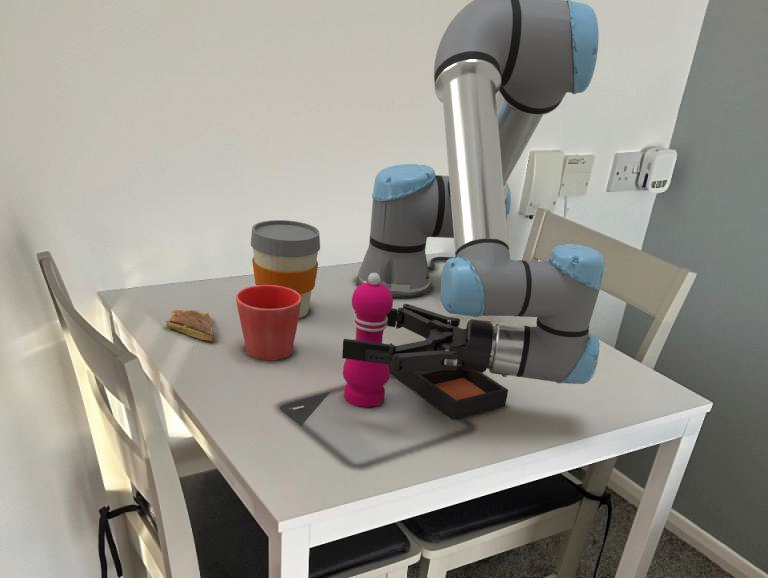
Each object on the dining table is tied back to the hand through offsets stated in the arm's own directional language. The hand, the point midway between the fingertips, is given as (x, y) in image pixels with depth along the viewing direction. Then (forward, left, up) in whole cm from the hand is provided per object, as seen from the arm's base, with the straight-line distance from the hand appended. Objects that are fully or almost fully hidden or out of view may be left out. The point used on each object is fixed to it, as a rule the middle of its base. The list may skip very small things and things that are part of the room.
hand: (348, 329), depth 115 cm
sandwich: (+11, -32, -11) cm, 36 cm away
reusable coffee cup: (-7, -34, -11) cm, 37 cm away
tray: (-16, +3, -11) cm, 20 cm away
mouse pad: (-1, +8, -12) cm, 14 cm away
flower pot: (+4, -19, -11) cm, 22 cm away
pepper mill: (-2, +2, -11) cm, 12 cm away
